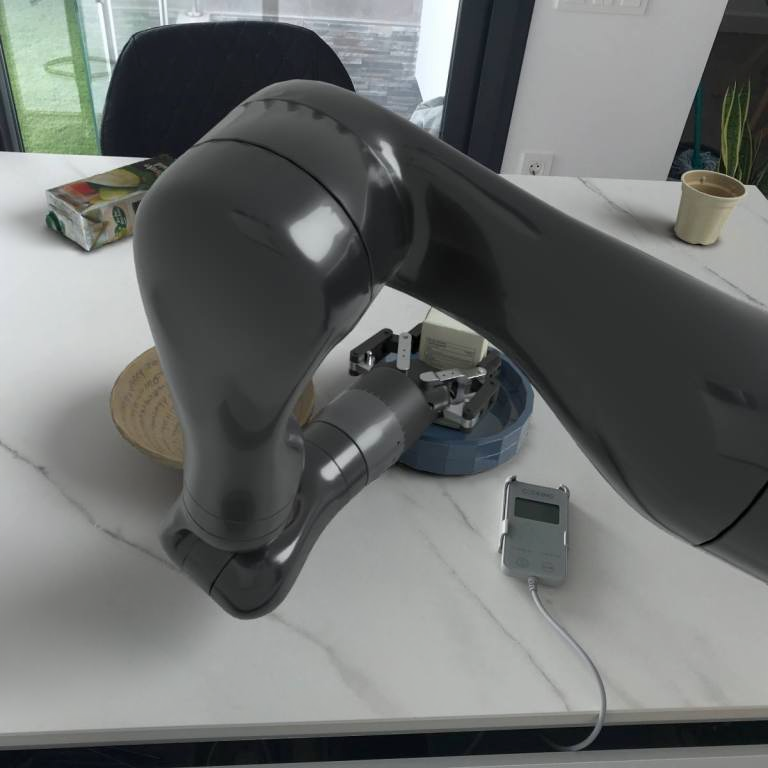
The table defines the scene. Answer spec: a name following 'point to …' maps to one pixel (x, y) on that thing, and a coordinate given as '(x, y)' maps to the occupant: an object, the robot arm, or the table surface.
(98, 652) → the table surface
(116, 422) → the bowl
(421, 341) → the cosmetic box
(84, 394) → the table surface
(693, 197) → the flower pot
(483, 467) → the serving bowl
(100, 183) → the juice carton
